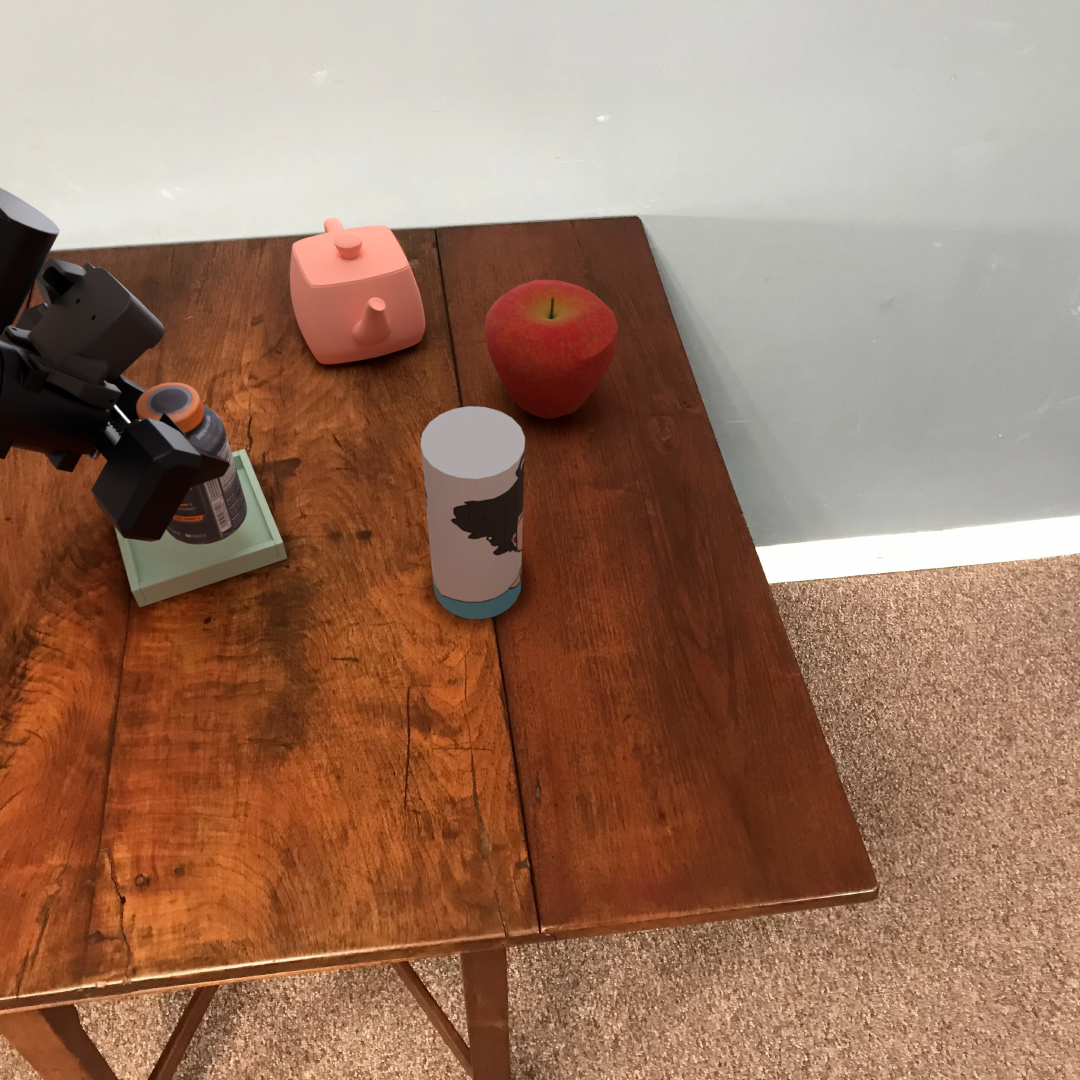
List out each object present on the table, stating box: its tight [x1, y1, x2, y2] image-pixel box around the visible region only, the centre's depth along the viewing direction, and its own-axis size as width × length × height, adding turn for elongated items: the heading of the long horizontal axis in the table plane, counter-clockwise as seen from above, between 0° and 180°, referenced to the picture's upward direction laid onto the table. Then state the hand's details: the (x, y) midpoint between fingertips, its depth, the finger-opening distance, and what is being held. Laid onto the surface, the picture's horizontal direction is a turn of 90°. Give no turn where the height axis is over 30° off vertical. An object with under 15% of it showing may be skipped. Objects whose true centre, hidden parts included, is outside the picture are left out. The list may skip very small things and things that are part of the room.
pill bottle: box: [136, 382, 247, 545], centre depth 65 cm, size 6×6×11 cm
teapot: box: [289, 216, 426, 365], centre depth 87 cm, size 12×18×10 cm, turn 23°
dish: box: [113, 448, 288, 608], centre depth 74 cm, size 11×11×2 cm
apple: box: [484, 279, 620, 420], centre depth 81 cm, size 11×11×12 cm
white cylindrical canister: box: [420, 405, 526, 620], centre depth 66 cm, size 7×7×15 cm
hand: (203, 444), depth 65 cm, fingers closed on pill bottle, 6 cm apart
